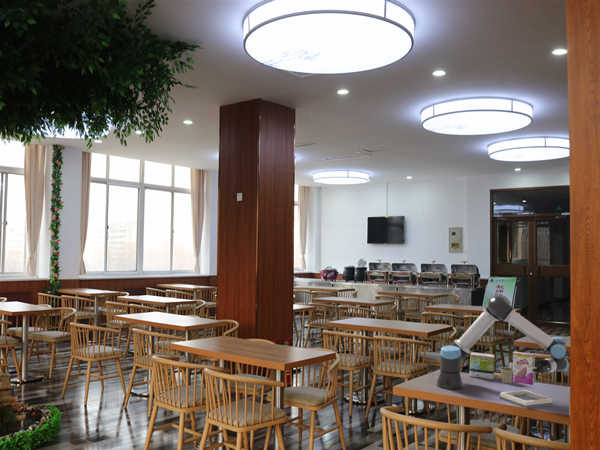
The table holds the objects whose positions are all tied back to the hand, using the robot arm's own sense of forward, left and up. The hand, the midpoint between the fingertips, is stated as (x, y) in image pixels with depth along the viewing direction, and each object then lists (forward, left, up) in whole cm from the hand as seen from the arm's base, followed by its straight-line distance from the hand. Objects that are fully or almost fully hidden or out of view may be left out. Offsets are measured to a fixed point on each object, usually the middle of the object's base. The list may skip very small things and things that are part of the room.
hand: (518, 367), depth 297 cm
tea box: (-52, +24, -19) cm, 60 cm away
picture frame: (+2, +4, -19) cm, 19 cm away
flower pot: (-35, +29, -19) cm, 49 cm away
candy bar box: (0, +4, -9) cm, 9 cm away
